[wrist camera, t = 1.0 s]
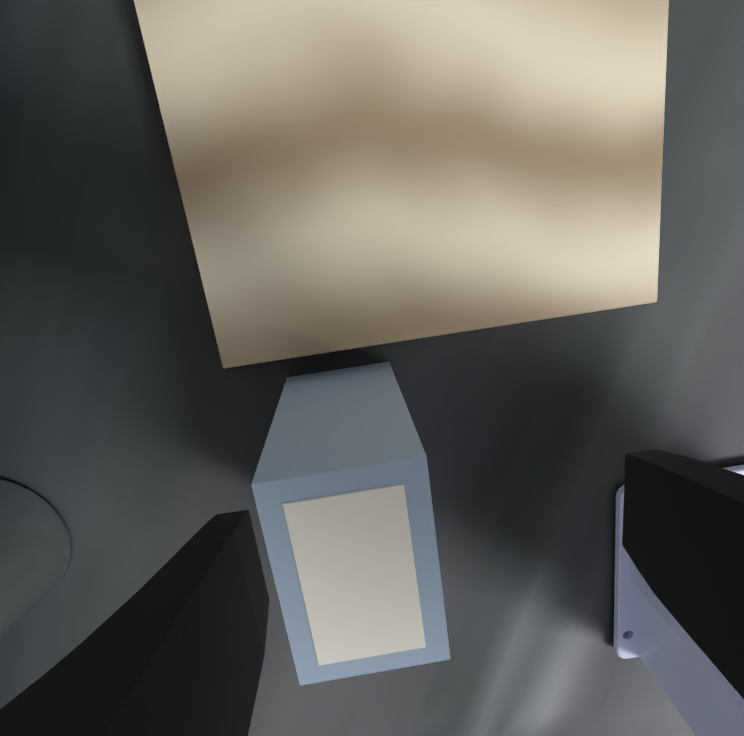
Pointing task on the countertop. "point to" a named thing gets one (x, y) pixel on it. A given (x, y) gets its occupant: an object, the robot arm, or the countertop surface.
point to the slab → (351, 526)
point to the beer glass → (28, 551)
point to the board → (411, 162)
